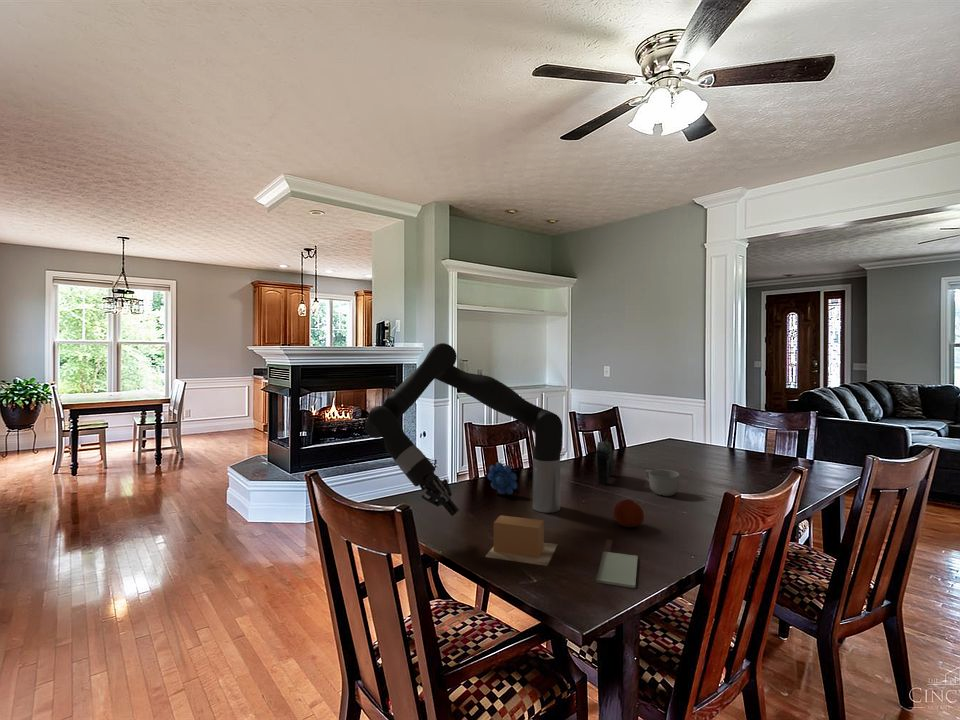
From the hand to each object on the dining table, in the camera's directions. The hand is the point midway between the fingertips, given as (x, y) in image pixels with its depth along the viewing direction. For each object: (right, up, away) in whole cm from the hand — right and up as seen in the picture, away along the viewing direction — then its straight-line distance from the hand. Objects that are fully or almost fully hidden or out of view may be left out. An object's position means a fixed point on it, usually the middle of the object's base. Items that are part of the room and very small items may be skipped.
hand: (455, 513), depth 134 cm
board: (+18, -9, -6) cm, 21 cm away
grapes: (+15, -9, +49) cm, 51 cm away
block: (+17, -8, -5) cm, 19 cm away
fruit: (+52, -9, +16) cm, 55 cm away
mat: (+35, -10, -12) cm, 38 cm away
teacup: (+75, -8, +51) cm, 92 cm away
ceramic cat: (+58, -8, +70) cm, 92 cm away
